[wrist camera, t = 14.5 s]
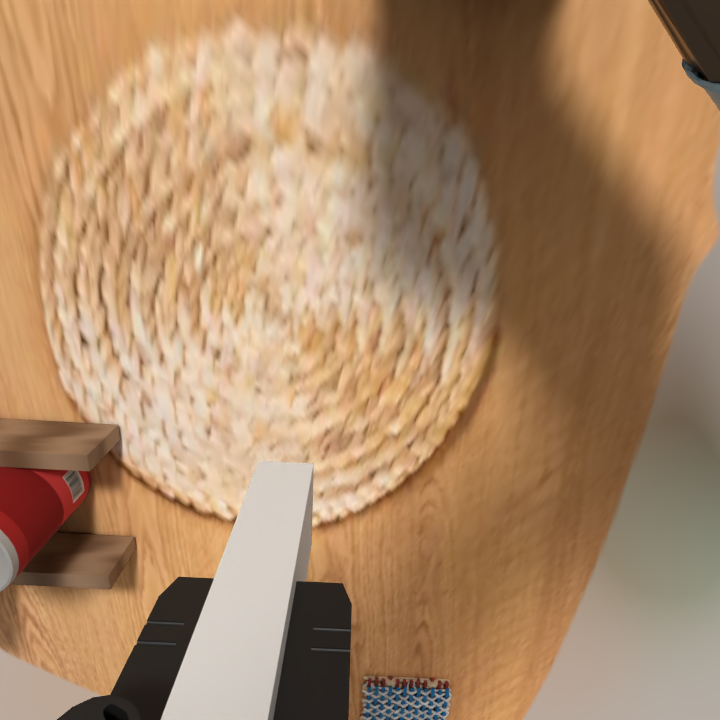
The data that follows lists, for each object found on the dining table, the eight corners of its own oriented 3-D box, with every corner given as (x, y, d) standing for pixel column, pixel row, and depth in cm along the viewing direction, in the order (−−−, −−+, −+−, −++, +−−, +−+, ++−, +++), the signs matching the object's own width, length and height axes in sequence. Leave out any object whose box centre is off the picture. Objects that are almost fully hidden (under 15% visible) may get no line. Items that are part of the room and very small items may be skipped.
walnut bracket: (118, 424, 42) (87, 455, 37) (135, 548, 47) (110, 589, 42) (-23, 417, 42) (-72, 446, 37) (9, 542, 47) (-30, 582, 42)
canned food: (34, 418, 42) (-73, 494, 32) (110, 469, 44) (33, 557, 34) (-6, 471, 44) (-119, 559, 34) (68, 518, 46) (-17, 615, 36)
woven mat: (452, 672, 54) (456, 690, 52) (442, 732, 58) (444, 750, 56) (362, 668, 54) (362, 686, 52) (357, 728, 58) (357, 747, 56)
